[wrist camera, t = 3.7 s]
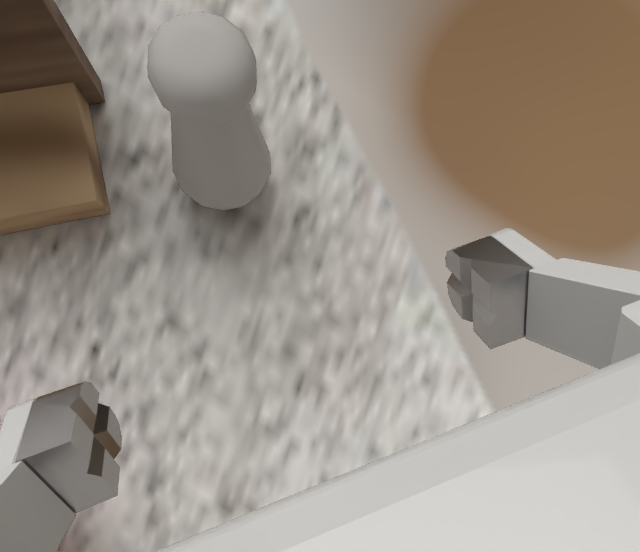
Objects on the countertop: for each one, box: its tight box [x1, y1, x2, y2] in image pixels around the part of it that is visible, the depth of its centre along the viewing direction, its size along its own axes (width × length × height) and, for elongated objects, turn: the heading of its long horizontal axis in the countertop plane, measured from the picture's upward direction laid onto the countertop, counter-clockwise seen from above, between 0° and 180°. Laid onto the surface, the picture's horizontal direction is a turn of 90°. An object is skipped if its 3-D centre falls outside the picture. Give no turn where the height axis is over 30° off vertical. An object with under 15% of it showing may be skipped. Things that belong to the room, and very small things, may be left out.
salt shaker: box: [147, 12, 271, 210], centre depth 24 cm, size 6×6×13 cm
